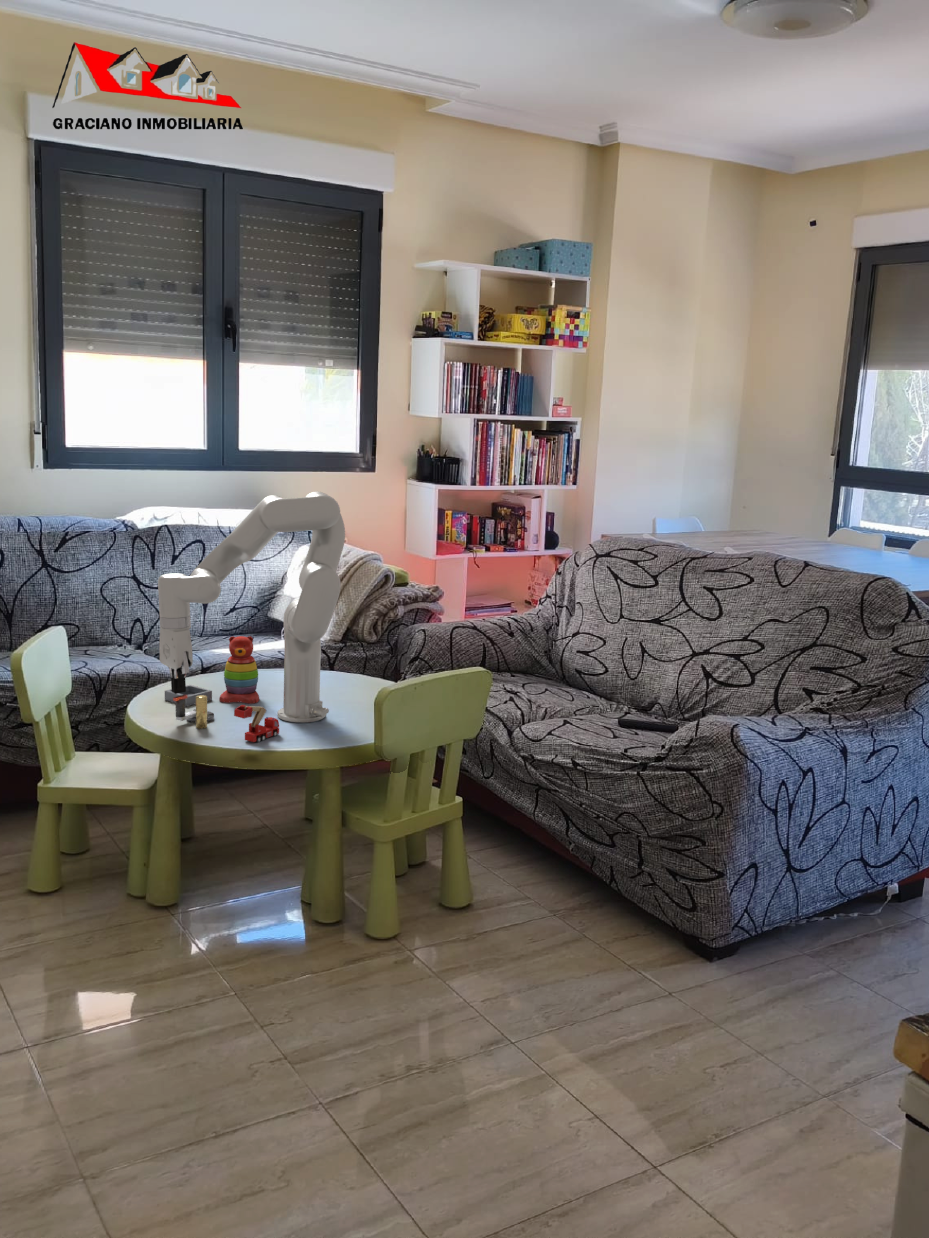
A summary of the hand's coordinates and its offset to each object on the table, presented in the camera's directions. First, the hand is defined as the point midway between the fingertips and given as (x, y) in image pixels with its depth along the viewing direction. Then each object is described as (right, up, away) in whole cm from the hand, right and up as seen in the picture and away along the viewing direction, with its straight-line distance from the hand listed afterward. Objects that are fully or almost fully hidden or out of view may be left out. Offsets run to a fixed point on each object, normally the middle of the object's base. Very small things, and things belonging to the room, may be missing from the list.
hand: (178, 692), depth 280 cm
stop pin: (+6, -9, -2) cm, 11 cm away
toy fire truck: (+22, -11, -10) cm, 27 cm away
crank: (+3, -7, +1) cm, 7 cm away
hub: (+4, -7, +4) cm, 10 cm away
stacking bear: (+11, -4, +25) cm, 28 cm away
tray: (-3, -4, +21) cm, 22 cm away
